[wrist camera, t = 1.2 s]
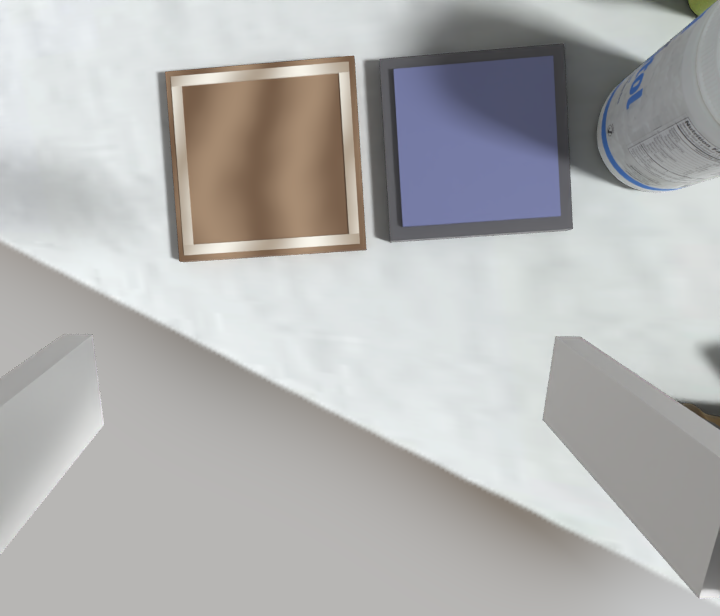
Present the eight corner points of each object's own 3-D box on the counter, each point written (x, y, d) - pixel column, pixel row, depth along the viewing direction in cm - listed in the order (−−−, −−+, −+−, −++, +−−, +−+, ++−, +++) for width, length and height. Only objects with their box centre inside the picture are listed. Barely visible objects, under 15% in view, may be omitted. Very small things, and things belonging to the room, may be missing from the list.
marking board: (354, 61, 40) (353, 55, 39) (366, 249, 40) (365, 248, 39) (170, 77, 40) (164, 71, 39) (184, 262, 41) (178, 261, 40)
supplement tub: (627, 51, 39) (776, -94, 24) (739, 104, 38) (958, -10, 24) (569, 165, 39) (681, 91, 25) (679, 217, 39) (858, 174, 24)
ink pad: (558, 51, 39) (566, 40, 37) (567, 230, 39) (574, 228, 38) (379, 66, 40) (379, 56, 38) (390, 242, 40) (390, 240, 39)
